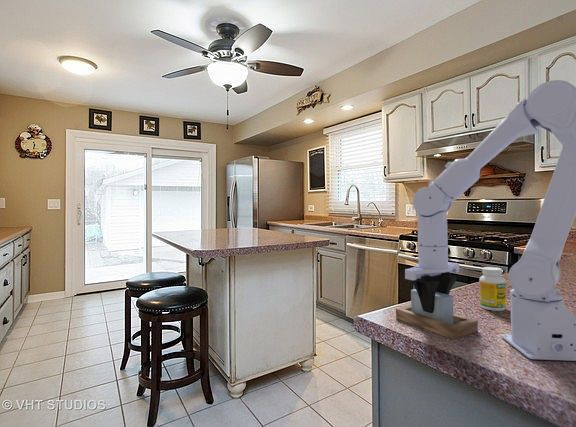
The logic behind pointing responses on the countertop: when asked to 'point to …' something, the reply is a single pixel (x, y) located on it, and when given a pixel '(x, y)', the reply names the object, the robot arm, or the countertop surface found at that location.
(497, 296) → the supplement bottle
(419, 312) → the grey rectangular block
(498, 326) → the countertop surface
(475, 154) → the robot arm
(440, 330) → the wooden tray
